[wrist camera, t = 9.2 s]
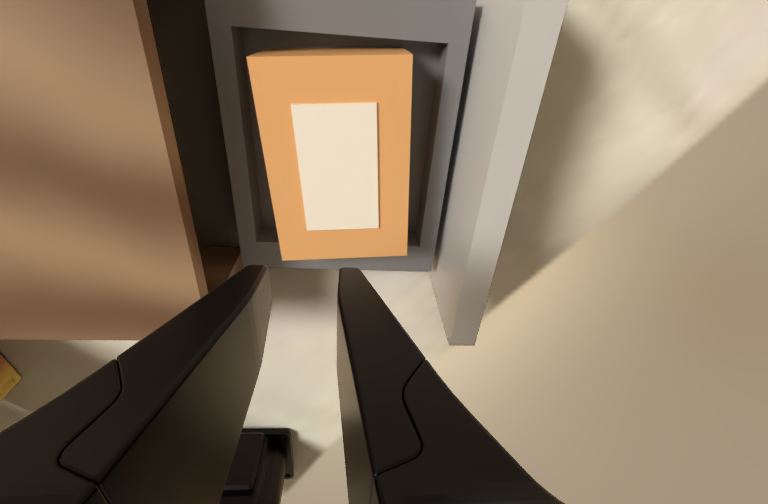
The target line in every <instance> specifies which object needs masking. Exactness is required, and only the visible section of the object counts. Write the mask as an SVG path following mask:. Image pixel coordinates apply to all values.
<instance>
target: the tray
mask: <svg viewBox="0 0 768 504" xmlns="http://www.w3.org/2000/svg"><path fill="white" fill-rule="evenodd" d="M204 3H205V9H206V16H207V23H208V30H209V37H210V44H211V51H212V58H213V64H214V71H215V78H216V85H217V92H218V99H219V106H220V113H221V119H222V126H223V133H224V140H225V147H226V154H227V161H228V167H229V174H230V181H231V188H232V195H233V202H234V209H235V216H236V222H237V229H238V236H239V243H240V250H241V257H242V264H243V267H246V266H248V265H266V266H268V268H302V269H340V268H341V267H357V268H359V269H360V270H387V271H428V272H429V276H430V279H431V283H432V286H433V290H434V294H435V297H436V301H437V304H438V308H439V311H440V315H441V318H442V322H443V325H444V329H445V332H446V336H447V339H448V343H449V345H475V342H476V338H477V334H478V331H479V327H480V323H481V320H482V316H483V312H484V309H485V305H486V301H487V298H488V294H489V290H490V287H491V283H492V279H493V275H494V272H495V268H496V264H497V261H498V257H499V253H500V250H501V246H502V242H503V239H504V235H505V231H506V228H507V224H508V220H509V217H510V213H511V209H512V206H513V202H514V198H515V195H516V191H517V187H518V183H519V180H520V176H521V172H522V169H523V165H524V161H525V158H526V154H527V150H528V147H529V143H530V139H531V136H532V132H533V128H534V125H535V121H536V117H537V114H538V110H539V106H540V103H541V99H542V95H543V91H544V88H545V84H546V80H547V77H548V73H549V69H550V66H551V62H552V58H553V55H554V51H555V47H556V44H557V40H558V36H559V33H560V29H561V25H562V22H563V18H564V14H565V11H566V7H567V3H568V0H204ZM350 47H403V48H404V49H406V50H407V51H409V52H410V53H412V54H413V67H412V101H411V136H410V170H409V204H408V239H407V256H384V257H360V258H335V259H310V260H285V261H282V256H281V250H280V244H279V239H278V233H277V228H276V222H275V216H274V211H273V205H272V199H271V194H270V188H269V182H268V177H267V171H266V165H265V160H264V154H263V148H262V143H261V137H260V131H259V126H258V120H257V114H256V109H255V103H254V97H253V92H252V86H251V80H250V75H249V69H248V63H247V58H246V57H247V56H250V55H252V54H255V53H257V52H260V51H262V50H265V49H273V48H350Z"/></svg>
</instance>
